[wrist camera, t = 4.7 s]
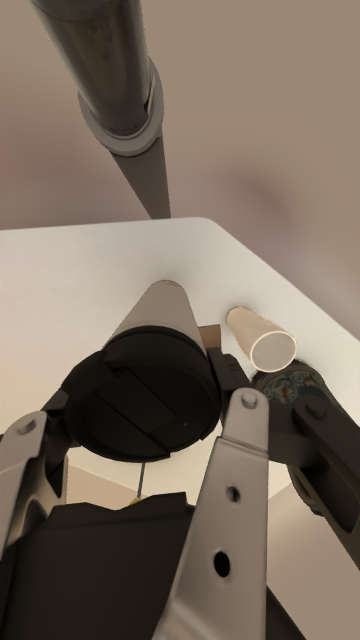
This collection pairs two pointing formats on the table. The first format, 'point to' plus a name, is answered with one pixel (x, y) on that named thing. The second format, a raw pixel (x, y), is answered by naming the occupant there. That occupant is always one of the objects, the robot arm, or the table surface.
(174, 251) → the table surface
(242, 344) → the drinking glass
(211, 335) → the coaster
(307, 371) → the beer stein
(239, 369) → the robot arm
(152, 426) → the travel mug
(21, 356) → the table surface
